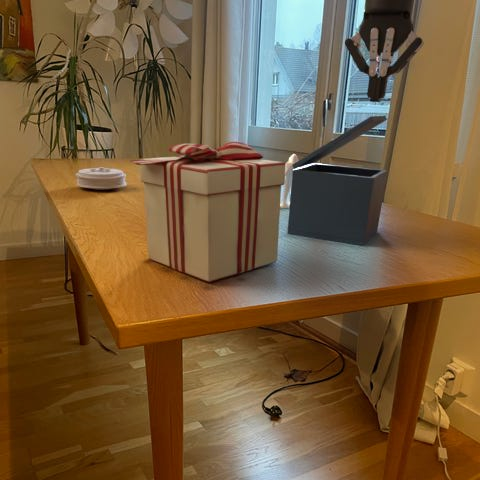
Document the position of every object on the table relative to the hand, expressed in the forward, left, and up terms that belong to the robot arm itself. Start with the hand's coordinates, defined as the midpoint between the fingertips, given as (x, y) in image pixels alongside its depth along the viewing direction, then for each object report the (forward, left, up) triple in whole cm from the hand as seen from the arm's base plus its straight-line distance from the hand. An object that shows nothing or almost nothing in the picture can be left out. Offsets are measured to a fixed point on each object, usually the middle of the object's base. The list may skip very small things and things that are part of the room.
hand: (375, 101), depth 81 cm
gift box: (+33, +8, -24) cm, 41 cm away
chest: (+3, -3, -24) cm, 24 cm away
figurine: (+1, -27, -24) cm, 36 cm away
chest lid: (+3, -4, -7) cm, 9 cm away
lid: (+41, -57, -24) cm, 74 cm away
